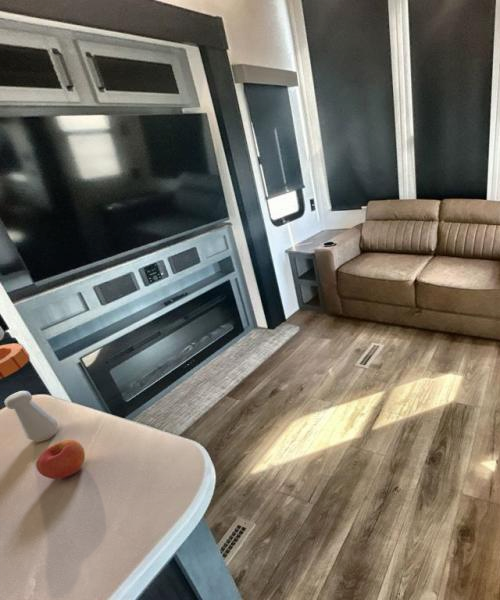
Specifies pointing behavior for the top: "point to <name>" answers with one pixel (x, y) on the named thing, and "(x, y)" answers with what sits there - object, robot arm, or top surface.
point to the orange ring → (12, 358)
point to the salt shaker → (32, 417)
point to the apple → (61, 459)
